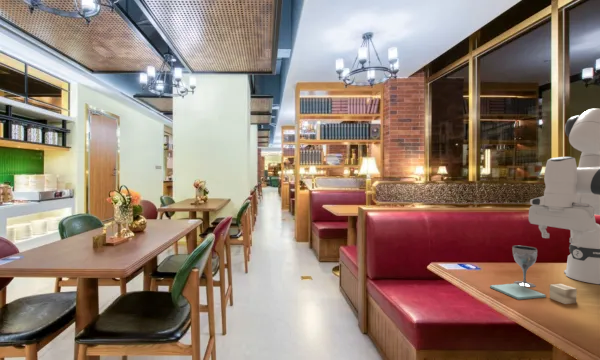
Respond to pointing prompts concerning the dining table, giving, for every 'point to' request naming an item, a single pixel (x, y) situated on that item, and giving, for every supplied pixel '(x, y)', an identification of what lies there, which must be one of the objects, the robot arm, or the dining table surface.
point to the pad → (517, 291)
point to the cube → (563, 293)
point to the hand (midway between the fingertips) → (558, 240)
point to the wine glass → (524, 261)
